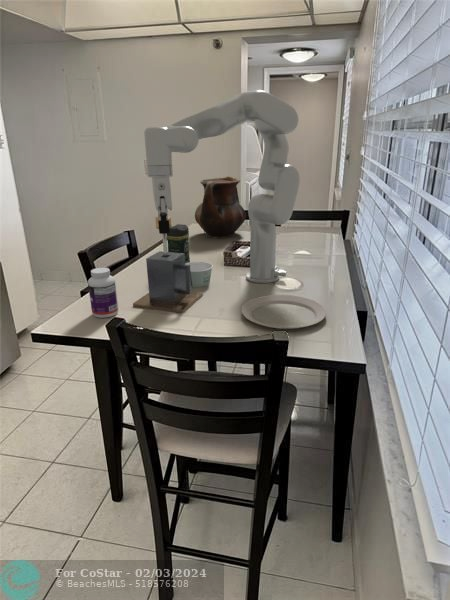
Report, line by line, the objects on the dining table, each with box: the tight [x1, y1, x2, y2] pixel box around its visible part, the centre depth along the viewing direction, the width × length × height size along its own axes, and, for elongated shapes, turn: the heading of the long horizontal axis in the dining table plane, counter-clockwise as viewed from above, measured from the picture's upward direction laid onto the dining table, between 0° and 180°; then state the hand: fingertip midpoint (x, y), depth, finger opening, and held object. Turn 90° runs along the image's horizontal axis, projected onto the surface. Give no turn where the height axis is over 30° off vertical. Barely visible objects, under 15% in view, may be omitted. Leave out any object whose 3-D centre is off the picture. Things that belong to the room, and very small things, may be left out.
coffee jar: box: [166, 223, 191, 263], centre depth 171 cm, size 10×8×19 cm
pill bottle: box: [87, 267, 119, 319], centre depth 130 cm, size 8×8×14 cm
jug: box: [194, 175, 247, 239], centre depth 227 cm, size 32×28×30 cm
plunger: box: [154, 216, 172, 257], centre depth 136 cm, size 6×6×20 cm
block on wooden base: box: [132, 250, 204, 314], centre depth 140 cm, size 18×16×16 cm
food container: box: [185, 261, 214, 288], centre depth 158 cm, size 12×12×6 cm
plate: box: [240, 294, 327, 330], centre depth 130 cm, size 26×26×2 cm
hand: (164, 230), depth 134 cm, fingers closed on plunger, 4 cm apart
